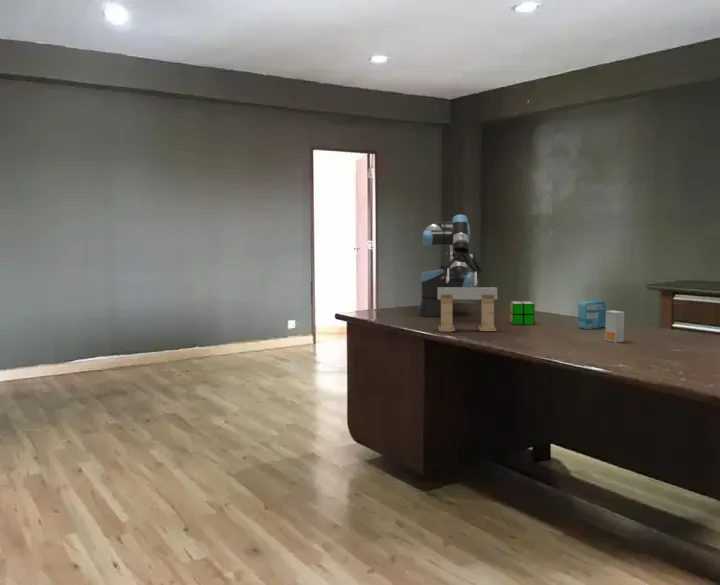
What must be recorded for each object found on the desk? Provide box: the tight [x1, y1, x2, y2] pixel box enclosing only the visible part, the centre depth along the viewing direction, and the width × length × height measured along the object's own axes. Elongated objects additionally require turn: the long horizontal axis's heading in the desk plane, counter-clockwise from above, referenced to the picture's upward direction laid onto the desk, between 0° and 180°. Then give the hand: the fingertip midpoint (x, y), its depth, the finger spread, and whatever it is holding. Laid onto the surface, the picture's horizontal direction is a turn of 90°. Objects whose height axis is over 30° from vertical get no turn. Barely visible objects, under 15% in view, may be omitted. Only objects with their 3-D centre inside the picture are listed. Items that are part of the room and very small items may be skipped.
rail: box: [438, 286, 498, 301], centre depth 298 cm, size 4×26×5 cm, turn 84°
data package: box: [577, 300, 607, 330], centre depth 302 cm, size 12×4×12 cm, turn 114°
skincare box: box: [604, 309, 625, 343], centre depth 268 cm, size 6×4×12 cm
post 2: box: [478, 295, 497, 332], centre depth 298 cm, size 8×7×16 cm
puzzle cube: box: [509, 300, 536, 326], centre depth 318 cm, size 10×10×10 cm
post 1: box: [437, 295, 456, 332], centre depth 299 cm, size 8×7×16 cm
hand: (461, 283), depth 317 cm, fingers open, 13 cm apart
